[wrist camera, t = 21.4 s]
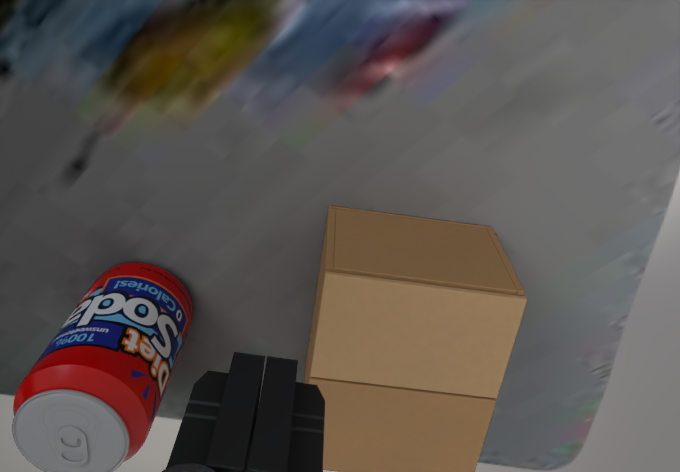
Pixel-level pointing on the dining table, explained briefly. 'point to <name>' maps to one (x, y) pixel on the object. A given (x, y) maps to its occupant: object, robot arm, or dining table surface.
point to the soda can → (104, 372)
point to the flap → (415, 335)
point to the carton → (397, 402)
